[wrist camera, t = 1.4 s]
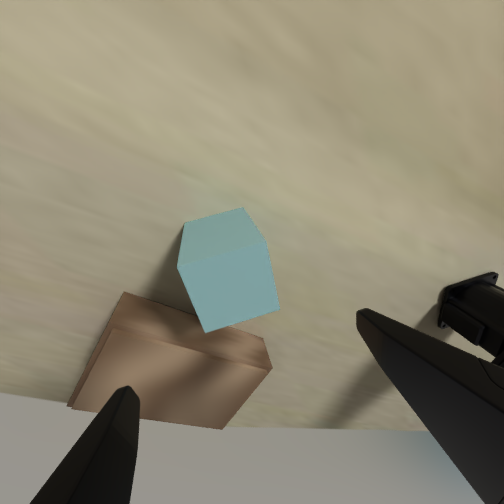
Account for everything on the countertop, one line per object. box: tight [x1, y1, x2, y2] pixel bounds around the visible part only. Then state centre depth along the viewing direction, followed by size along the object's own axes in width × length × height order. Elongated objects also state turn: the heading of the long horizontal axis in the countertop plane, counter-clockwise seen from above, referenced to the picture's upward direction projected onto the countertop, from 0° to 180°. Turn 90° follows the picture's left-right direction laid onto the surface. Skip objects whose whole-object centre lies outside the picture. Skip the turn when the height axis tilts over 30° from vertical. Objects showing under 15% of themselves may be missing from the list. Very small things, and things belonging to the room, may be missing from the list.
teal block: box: [177, 207, 280, 333], centre depth 16 cm, size 5×5×7 cm
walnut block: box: [67, 292, 272, 430], centre depth 21 cm, size 14×9×4 cm, turn 57°
